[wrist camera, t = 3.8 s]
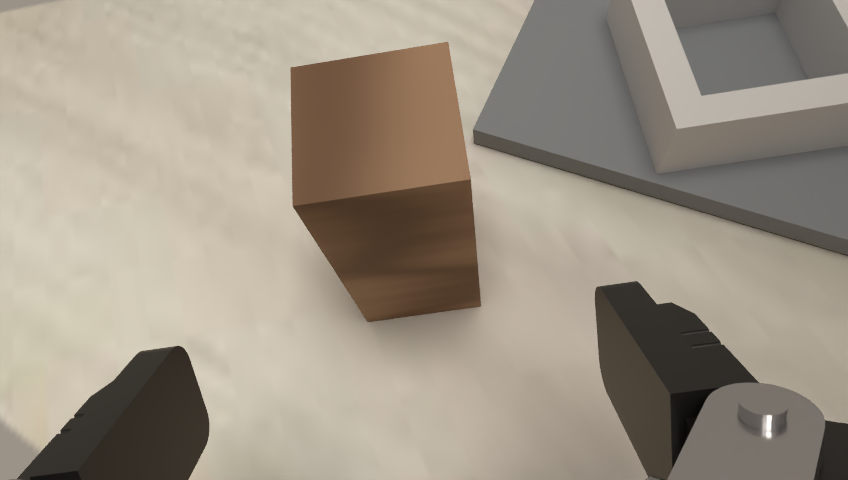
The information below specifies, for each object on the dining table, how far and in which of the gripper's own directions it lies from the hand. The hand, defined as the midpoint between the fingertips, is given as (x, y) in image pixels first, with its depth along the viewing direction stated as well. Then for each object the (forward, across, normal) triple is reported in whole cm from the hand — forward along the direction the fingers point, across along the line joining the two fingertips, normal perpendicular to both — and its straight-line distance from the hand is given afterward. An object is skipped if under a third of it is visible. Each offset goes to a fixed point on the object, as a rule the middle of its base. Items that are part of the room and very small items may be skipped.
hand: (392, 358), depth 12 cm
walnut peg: (+12, 0, +3) cm, 13 cm away
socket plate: (+16, -14, -1) cm, 21 cm away
